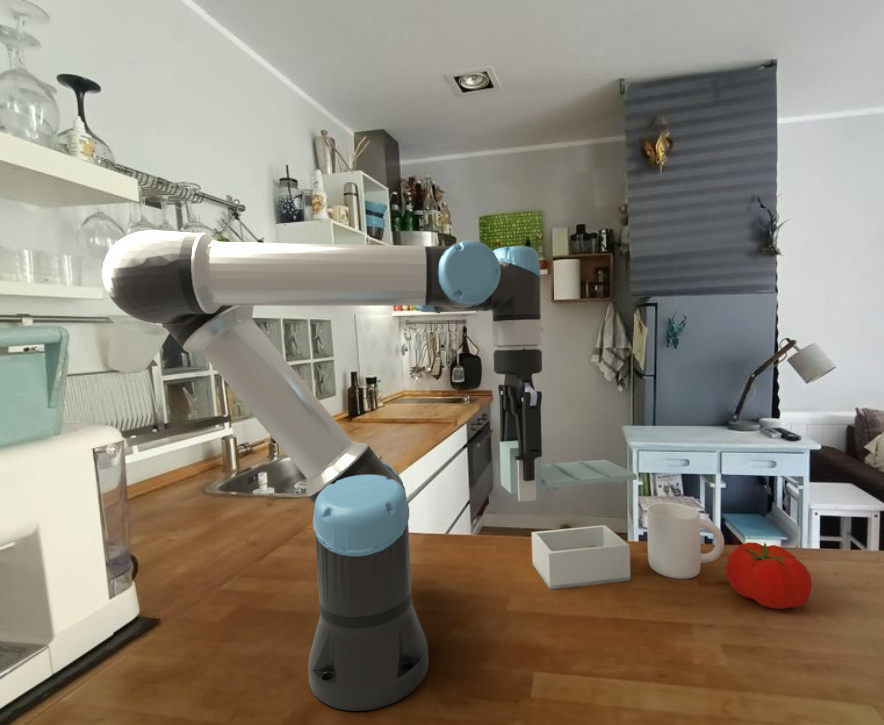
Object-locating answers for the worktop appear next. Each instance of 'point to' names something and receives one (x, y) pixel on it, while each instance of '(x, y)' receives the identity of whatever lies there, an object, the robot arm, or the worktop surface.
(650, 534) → the mug
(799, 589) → the tomato
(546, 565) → the tub
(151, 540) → the worktop surface
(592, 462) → the lid
